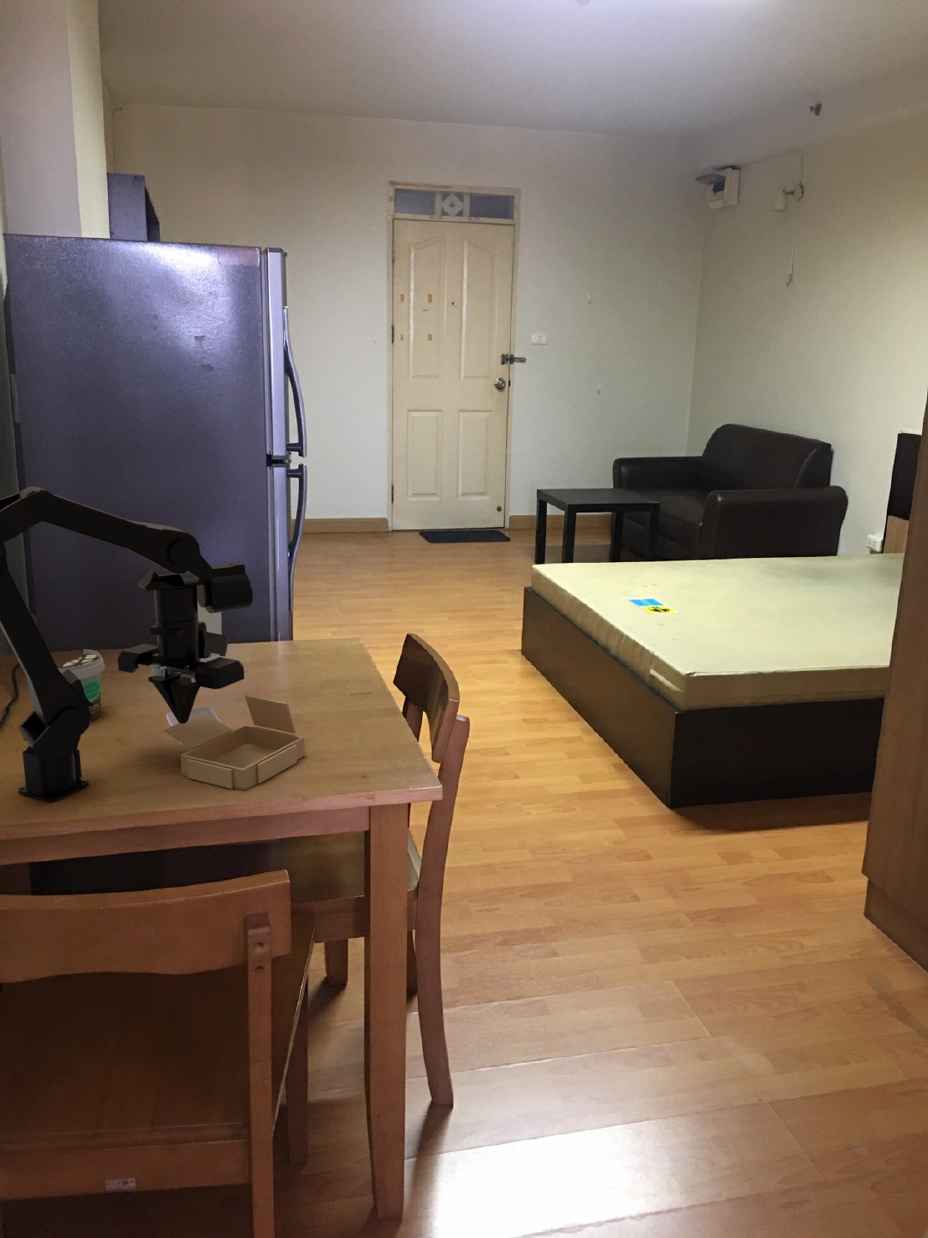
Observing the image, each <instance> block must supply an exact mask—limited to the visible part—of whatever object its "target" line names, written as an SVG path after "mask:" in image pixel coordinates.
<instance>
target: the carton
mask: <svg viewBox="0 0 928 1238" xmlns="http://www.w3.org/2000/svg"><path fill="white" fill-rule="evenodd" d="M305 739H306V738H305V737H304V736H300V735H296V734H292V733H287V732H283V731H281V732H280V731H278V730H273V729H269V728H264V727H258V726H255V725H254V726H253V725H248V724H244V725H241V726H240V727H237V728H236V729H232V731H231V732H229V733H226V734H224V735H222V736H220V737H218V738H216V739H214V740H212V741H210V742H207V743H205V744H203V745H201V746H199V747H197V748H195V749H193V750H191V749H190V750H188V751H187V752H185V753H182V754H180V768H181V776H184V777H187V778H188V779H192V780H195V781H199V782H203V783H207V784H211V785H215V786H219V787H223V788H226V789H231V790H232V789H236V790H239V791H243V792H245V791H246V790H249V789H250V788H252V787H253V786H255V785H257V784H261V783H263V782H265V781H266V780H269V779H270V778H272V777H274V776H276V775H277V774H279V773H281V772H283V771H284V770H286V769H287V768H290V767H292V766H293V765H295V764H296V763H298V761H299V760H298V759H300V758H301V759H302V757H303V756H305V757H306V748H305V746H306V745H305V741H306V740H305ZM303 758H304V757H303ZM301 759H300V760H301ZM297 760H298V761H297Z"/></svg>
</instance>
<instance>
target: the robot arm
mask: <svg viewBox="0 0 928 1238" xmlns="http://www.w3.org/2000/svg"><path fill="white" fill-rule="evenodd" d="M42 522H43V523H48V524H51V525H54V526H56V527H60V528H63V529H66V530H69V531H73V532H75V533H79V534H81V535H85V536H88V537H90V538H94V539H96V540H100V541H102V542H103V541H104V542H106V543H109V544H112V545H116V546H119V547H122V548H125V549H127V550H130V552H132V553H135V554H136V555H138V556H141V557H142V558H144V559H146V560H147V561H149V562H151V563H153V564H155V565H157V566H159V567H161V568H163V569H164V570H167V571H169V572H171V573H170V574H169V573H168V574H157V572H156V571H153V570H151V569H150V570H148V572H147V574H146V575H145V576H144V577H143V578H142V579H140V580H139V581H138V582H137V586H138V587H140V588H141V589H142V590H145V591H146V592H153V591H154V594H153V595H154V605H155V606H154V607H155V625H151V626H149V629H150V630H149V631H150V634H151V635H155V636H156V638H157V639H156V640H157V645H154V644H148V643H142V644H139V645H135V646H132V647H129V648H125V649H122V650H121V652H120V653H119V655H118V657H117V667H118V669H117V670H118V671H119V672H123V673H129V674H133V673H136V671H137V670H138V669H139V665H140V666H141V665H142V666H146V667H149V668H151V676H149V677H148V678H147V680H148V682H149V683H151V684H153V686H154V687H155V689H156V690H157V691H158V693H159V694H160V695H161V697H162V699H164V701H165V702H166V704H167V706H168V708H169V709H170V710H171V711H170V712H172V713H173V714H174V716H175V718H176V719H177V721H178V722H179V723H182V724H184V723H187V722H188V720H189V717H190V714H191V710H192V709H193V707H194V705H195V704H194V703H195V701H196V698H197V695H198V693H199V691H200V688H205V689H211V690H220V689H223V688H226V687H229V686H231V685H233V684H236V683H238V682H240V681H243V680H245V667H244V664H243V663H242V662H241V661H240V660H239V659H233V658H226V656H227V651H228V645H229V641H230V635H226V634H222V635H221V634H216V633H210V632H207V628H206V624H205V622H200V621H199V619H198V603H199V605H200V606H201V607H202V608H203V607H205V608H206V610H207V611H208V613H219V612H221V613H225V612H234V611H241V610H249V609H250V607H252V604H253V599H254V594H253V593H254V591H253V588H252V586H251V585H252V584H251V582H250V579H249V576H248V574H247V572H246V565H245V564H243V563H241V562H239V561H238V562H231V563H228V564H223V565H210V564H209V563H208V561H206V559H205V558H204V557H203V555H201V549H200V547H201V546H200V544H199V542H198V540H197V538H196V537H194V535H192V534H190V533H189V532H188V531H187V532H186V531H184V530H182V529H178V528H176V527H174V526H170V525H164V524H157V523H151V522H141V521H134V520H130V519H126V518H123V517H120V516H117V515H114V514H111V513H109V512H105V511H102V510H100V509H98V508H94V507H91V506H88V505H84V504H82V503H79V502H77V501H73V500H70V499H68V498H65V497H62V496H59V495H56V494H53V493H51V492H50V491H49V490H47V489H43V488H41V487H40V486H39V487H38V486H34V485H33V486H29V487H26V488H25V489H22V490H21V491H19V492H17V493H14V494H12V495H9V496H5V497H3V498H0V628H1V630H2V632H3V634H4V636H5V638H6V640H7V642H8V644H9V645H10V647H11V649H12V651H13V653H14V655H15V657H16V659H17V661H18V663H19V665H20V667H21V669H22V670H23V672H24V675H25V677H26V681H27V687H28V692H29V697H30V700H31V703H32V706H33V710H32V711H31V713H30V714H29V715H28V716H27V718H25V719H24V720H23V722H22V723H21V724H20V725H19V726H18V731H19V733H20V734H21V736H22V738H23V739H24V741H26V743H27V744H28V746H27V748H26V749H24V750H23V751H22V762H23V772H24V773H23V774H24V780H25V785H24V786H22V787H19V788H18V789H17V793H18V794H22V795H24V796H28V797H32V798H35V799H37V800H38V799H39V800H42V801H46V802H49V803H50V802H55V801H57V800H60V799H62V798H64V797H65V796H68V795H71V794H72V793H75V792H77V791H79V790H81V789H83V788H86V787H88V786H89V781H88V780H85V779H82V778H83V777H82V775H83V774H82V765H81V763H82V762H81V752H80V751H81V750H79V749H78V747H79V744H80V740H81V737H82V735H83V734H84V733H86V731H87V730H88V729H89V726H90V724H91V723H92V722H91V720H92V716H91V712H90V709H89V708H88V707H92V706H93V704H92V703H91V702H90V701H89V700H88V699H87V697H86V696H85V693H84V689H83V686H82V683H81V680H80V679H79V678H78V677H77V676H76V675H75V674H74V673H73V672H72V671H71V670H70V669H67V670H66V671H64V672H63V673H61V672H60V671H59V670H58V668H57V667H58V666H57V664H56V663H55V660H54V658H53V657H52V655H51V653H50V650H49V648H48V646H47V645H46V642H45V641H44V638H43V636H42V635H41V633H40V631H39V629H38V627H37V625H36V623H35V620H34V619H33V617H32V614H31V613H30V611H29V609H28V606H27V605H26V603H25V601H24V599H23V597H22V595H21V593H20V591H19V589H18V587H17V585H16V583H15V581H14V579H13V577H12V574H11V568H10V562H9V558H8V557H9V556H8V552H7V549H6V546H5V545H6V544H5V542H7V541H10V540H11V539H14V538H16V537H17V536H19V535H21V534H23V533H24V532H25V531H27V530H29V529H30V528H33V527H34V526H35V525H38V524H39V523H42ZM185 573H188V574H190V575H192V576H193V577H190V578H189V577H188V578H183V577H182V575H180V574H185ZM197 600H198V601H197ZM211 653H214V654H219V655H220V656H222V657H219V658H216V659H213V660H211V661H208V662H201V661H200V659H202V658H204V659H206V658H208V657H211ZM187 666H189V667H187Z"/></svg>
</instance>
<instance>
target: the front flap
mask: <svg viewBox="0 0 928 1238" xmlns="http://www.w3.org/2000/svg"><path fill="white" fill-rule="evenodd" d="M244 698H245V702H246V704H247V707H248V710H249V714H250V717H251V719H252V723H253V725H254V726H256V727H258V726H259V727H261V728H265V729H270V730H275V731H279V732H280V731H281V732H284V733H289V734H293V735H296V733H297V731H296V727H295V724H294V720H293V717H292V714H291V711H290V707H289V704H288V702H284V701H281V700H280V701H279V700H273V699H269V698H263V697H259V696H254V695H249V694H245V695H244Z"/></svg>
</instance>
